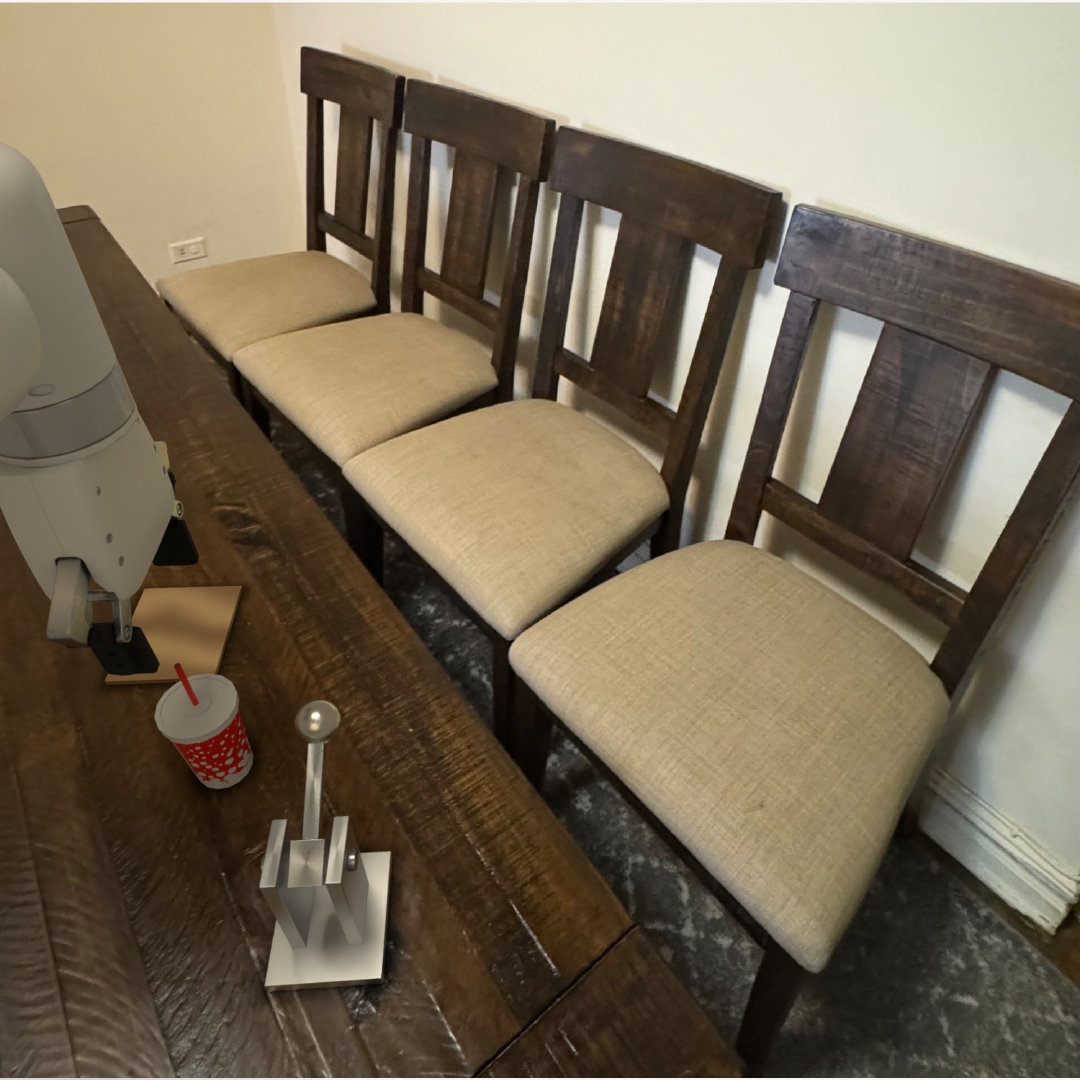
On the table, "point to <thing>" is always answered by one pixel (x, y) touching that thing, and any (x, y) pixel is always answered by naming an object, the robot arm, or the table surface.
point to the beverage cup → (206, 727)
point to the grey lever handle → (313, 794)
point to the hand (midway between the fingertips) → (157, 612)
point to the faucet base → (327, 914)
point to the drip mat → (184, 630)
